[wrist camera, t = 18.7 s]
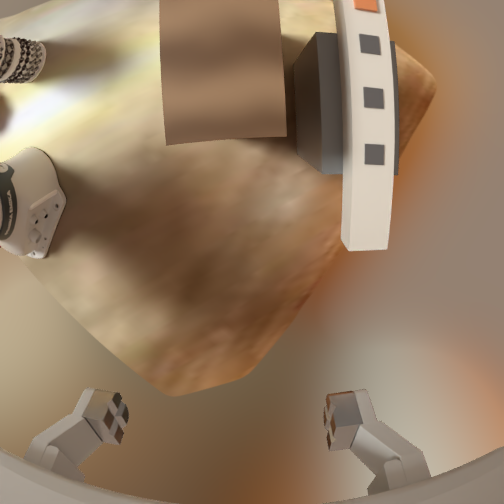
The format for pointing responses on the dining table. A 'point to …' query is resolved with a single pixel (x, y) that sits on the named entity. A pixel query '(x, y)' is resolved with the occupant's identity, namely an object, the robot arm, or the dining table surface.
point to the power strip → (366, 123)
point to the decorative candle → (20, 60)
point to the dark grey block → (327, 104)
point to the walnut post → (221, 70)
